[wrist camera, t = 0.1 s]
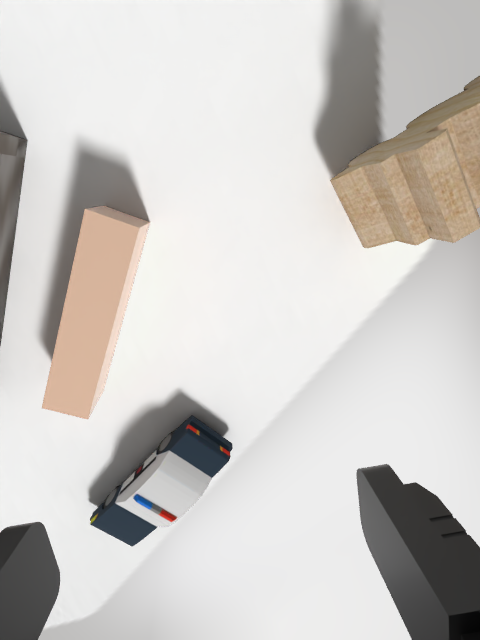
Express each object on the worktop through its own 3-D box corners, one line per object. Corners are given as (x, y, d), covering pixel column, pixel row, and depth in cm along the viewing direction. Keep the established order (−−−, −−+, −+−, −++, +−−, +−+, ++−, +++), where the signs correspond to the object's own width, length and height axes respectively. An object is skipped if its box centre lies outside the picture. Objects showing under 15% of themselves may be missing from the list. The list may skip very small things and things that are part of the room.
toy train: (319, 181, 27) (373, 177, 18) (527, 44, 25) (711, -41, 16) (350, 242, 29) (413, 267, 20) (546, 119, 27) (722, 83, 18)
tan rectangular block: (104, 205, 27) (84, 208, 23) (150, 222, 28) (139, 228, 24) (64, 379, 32) (41, 408, 28) (104, 389, 33) (88, 419, 29)
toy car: (94, 505, 38) (77, 550, 33) (192, 407, 34) (189, 442, 29) (133, 527, 39) (122, 573, 34) (231, 434, 36) (234, 472, 31)
